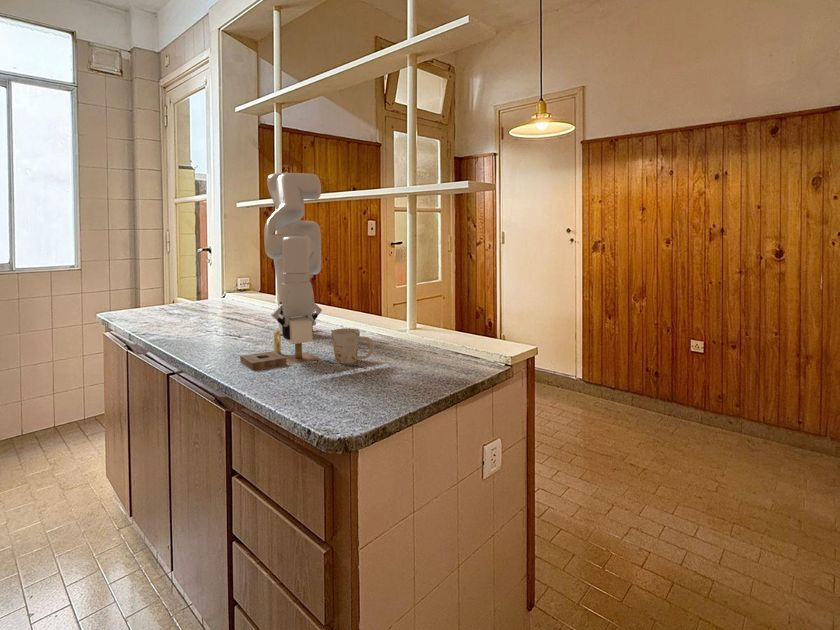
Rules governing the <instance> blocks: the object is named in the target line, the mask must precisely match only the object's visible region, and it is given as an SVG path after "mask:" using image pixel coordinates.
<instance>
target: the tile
mask: <svg viewBox="0 0 840 630" xmlns="http://www.w3.org/2000/svg"><path fill="white" fill-rule="evenodd" d="M283 356H284V357H286V359H287V364H289V365H294V364H301V363H306V362H312V361H318V360H321V358H320V357H318V356H315V355H314V354H311V353H309V352H303V343H298V344H294V354H289V355H283Z"/></svg>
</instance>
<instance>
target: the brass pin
mask: <svg viewBox="0 0 840 630" xmlns="http://www.w3.org/2000/svg"><path fill="white" fill-rule="evenodd" d="M281 340H282V339H281V335H280V331H275V330H274V331H273V348H274V349H273V350H274V352H276V353H278V354H280V355H282V344H281V343H282V341H281Z"/></svg>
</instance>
